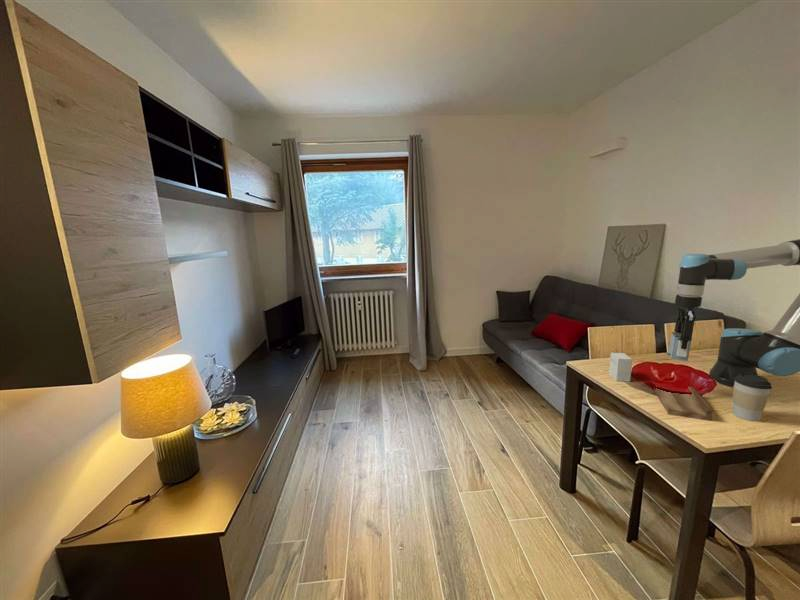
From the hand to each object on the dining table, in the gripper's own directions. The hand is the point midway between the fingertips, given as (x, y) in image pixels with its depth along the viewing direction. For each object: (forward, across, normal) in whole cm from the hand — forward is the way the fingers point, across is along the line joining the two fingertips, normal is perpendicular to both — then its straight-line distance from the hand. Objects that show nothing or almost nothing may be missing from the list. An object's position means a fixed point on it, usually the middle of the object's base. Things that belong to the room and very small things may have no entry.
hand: (679, 353), depth 129 cm
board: (+17, +9, +1) cm, 19 cm away
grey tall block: (+2, 0, 0) cm, 2 cm away
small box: (+18, -9, -17) cm, 26 cm away
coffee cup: (+17, +9, +18) cm, 27 cm away
